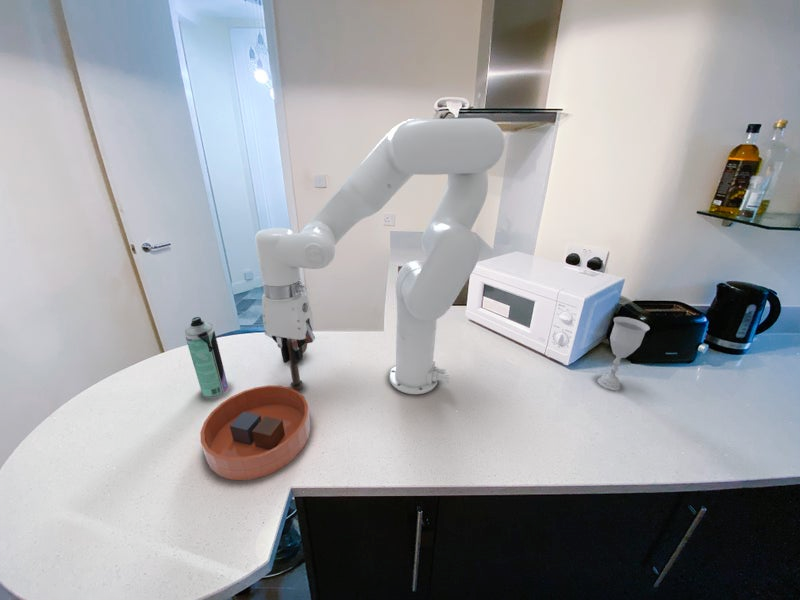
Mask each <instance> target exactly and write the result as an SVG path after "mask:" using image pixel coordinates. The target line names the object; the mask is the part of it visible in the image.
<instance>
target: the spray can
mask: <svg viewBox="0 0 800 600" xmlns="http://www.w3.org/2000/svg"><path fill="white" fill-rule="evenodd" d="M184 336H185V340H186V344H187V347H188V350H189V354H190V357H191V361H192V364H193V368H194V371H195V374H196V378H197V382H198V384H199V388H200V392H201V395H202V397H203V398H206V399H214V398H218V397H220V396H222V395H224V394H225V393H226V392H228V390H229V384H228V381H227V377H226V372H225V369H224V363H223V359H222V356H221V352H220V348H219V344H218V340H217V335H216V331H215V328H214V327H213V324H212V323H210V322H206V321H204V320H202V318H201V317H200V316H195V317H193V318H192V319H191V322H190V324H189V326H187V327H186V328H185V329H184Z"/></svg>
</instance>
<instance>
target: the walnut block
mask: <svg viewBox="0 0 800 600" xmlns="http://www.w3.org/2000/svg"><path fill="white" fill-rule="evenodd" d="M252 434H253V438H254V442H255V446H256V447H260V448H264V449H268V450H271V449H273V448H275V447H276V446H277V445H278V444H279V442H280V441H281V440H282V438H283V437H284V435H285V432H284V426H283V420H280V419H275V418H271V417H266V416H265V417H264V418H263V419H262V420H261V421H260V422H259V424H258V425H257V426H256V427H255V428H254V429H253V431H252Z"/></svg>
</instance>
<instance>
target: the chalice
mask: <svg viewBox="0 0 800 600" xmlns="http://www.w3.org/2000/svg"><path fill="white" fill-rule="evenodd" d="M613 322H614V324H613V326H612V330H611V333H610V337H609V341H610V347H611V351H612V354H613V355H614V356H615V359H614V360H613V361H612V363H613V364H612V366H610V367H609V368H610V372H609V373H608V372H607V373H603V374H602V375H601V376H600V377H599V378H597V383H598V384H599V385H600V386H602V387H603V388H604V389H607V390H610V391H618V390H620V389H621V386H620V384H621V383H620V380H619V379H620V378H619V377H618V376H616V373H617V372H618V371H619V365H621V360H622V359H626V358H627V357H629V356H630V355H632V354H633V353H634V352H635V351H637V349H638V348H640V346H641V344H642V342H643V339H644V337H645V335H646V333H647V332H648V331H650V329H651V328H650V326H649V325H648V324H647V323H645V322H643V321H641V320H638V319H635V318H631V317H627V316H615V317H613Z"/></svg>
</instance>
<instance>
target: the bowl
mask: <svg viewBox="0 0 800 600" xmlns="http://www.w3.org/2000/svg"><path fill="white" fill-rule="evenodd" d="M243 411H244V412H249V413H253V414H257V415H260V416H261V420H262V419H263V418H264V417H265V416H266V417H271V418H275V419H280V420H283V426H284V432H285V435H284V437H283V438H282V440H281V441H280V442H279V444H278V445H277V446H276V447H275V448H273V449H271V450H268V449H264V448H260V447H256V446H255V442H253V443H252V444H251V445H249V444H245V443H241V442H237V441H233V437H232V433H231V430H230V425H231V424H232V423H233V422H234V421H235V420H236V419H237V418H238V416H239V415H240V414H241V413H242V412H243ZM310 433H311V420H310V411H309V404H308V402H307V400H306V398H305V396H304V394H303V395H302V393H301V392H300V391H296V390H294V389H292V388H291V386H284V385H281V384H280V385H278V384H277V385H269V384H268V385H262V386H255V387H253V388H248V389H246V390H243V391H240V392H239V393H236V394H234V395H232V396H230V397H228V398H226V400H225V401H223V402H221V403H220V404H219V405H217V406H216V408H214V409H213V410H212V411H211V412H210V413H209V415H208V416H207V417H206V418H205V420H204V422H203V425H202V427H201V429H200V444H201V447H202V450H203V454H204V456H205V460H206V462H207V464H208V467H209V468H210V470H211V471H212V472H213V473H215V474H216V475H217V476H219V477H222V478H224V479H228V480H231V481H248V480H254V479H255V480H256V479H258V478H262V477H265V476H267V475H270V474H272V473H274V472H276V471H278V470H280V469H282V468H284V467H286V465H288V464H289V463H291V462H292V461H293V460H294V459H295V458H296V457H297V456H298V455H299V454H300V453H301V452H302V450H303V449H304V447H305V446H306V444H307V442H308V440H309V437H310Z"/></svg>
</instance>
